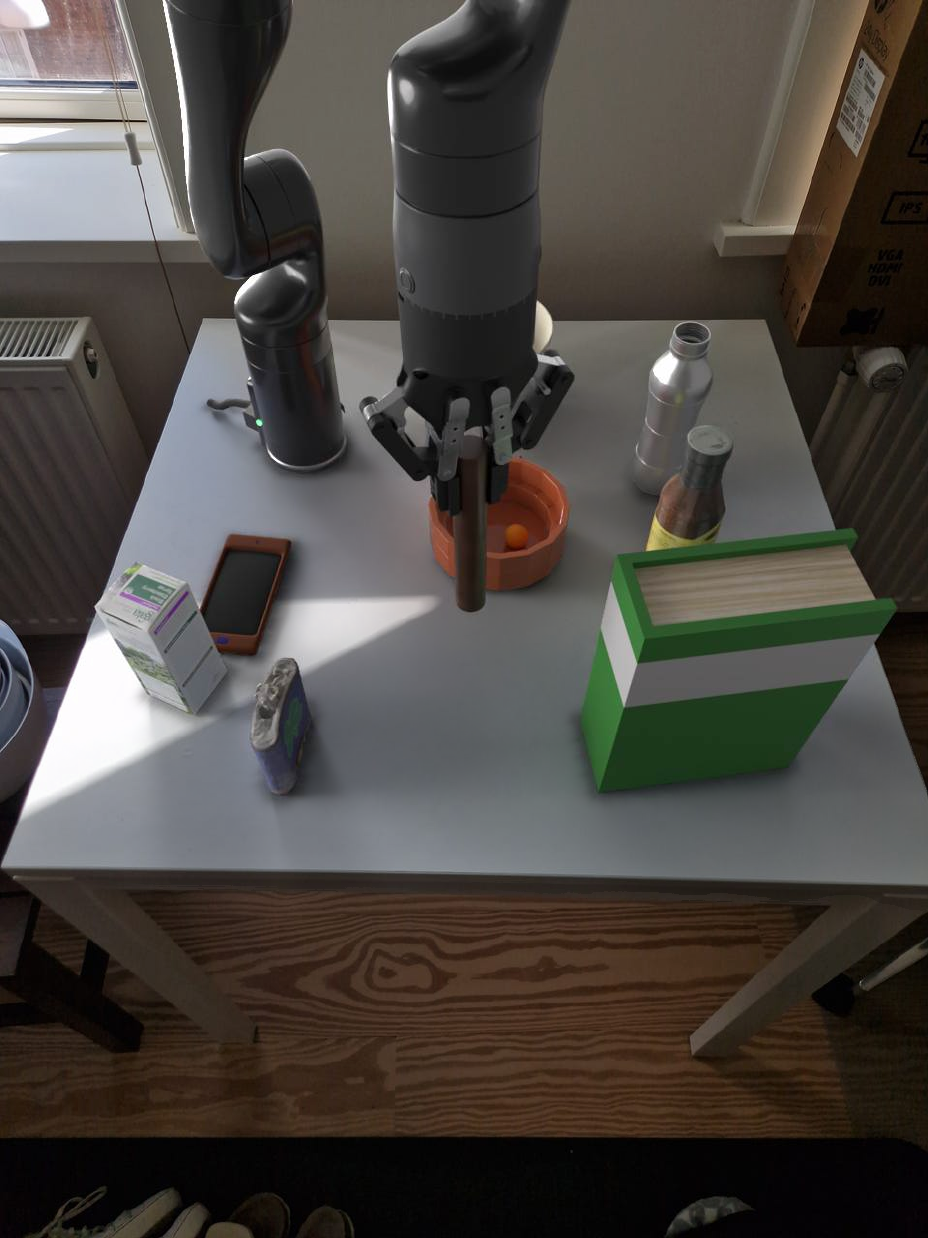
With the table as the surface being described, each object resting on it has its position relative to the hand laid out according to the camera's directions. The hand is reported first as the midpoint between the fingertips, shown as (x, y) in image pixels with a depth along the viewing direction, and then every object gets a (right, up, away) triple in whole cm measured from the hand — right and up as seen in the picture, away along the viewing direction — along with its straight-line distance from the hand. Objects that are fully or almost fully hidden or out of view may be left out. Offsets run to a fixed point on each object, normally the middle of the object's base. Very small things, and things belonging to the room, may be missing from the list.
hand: (469, 501), depth 59 cm
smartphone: (-23, -6, +30) cm, 39 cm away
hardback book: (+20, -20, +20) cm, 34 cm away
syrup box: (-27, -14, +24) cm, 39 cm away
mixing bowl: (+3, 0, +34) cm, 35 cm away
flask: (-16, -20, +20) cm, 33 cm away
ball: (+5, +1, +32) cm, 33 cm away
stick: (0, -7, +9) cm, 11 cm away
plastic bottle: (+22, +8, +40) cm, 46 cm away
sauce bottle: (+21, -5, +31) cm, 38 cm away
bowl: (+2, +20, +49) cm, 53 cm away
